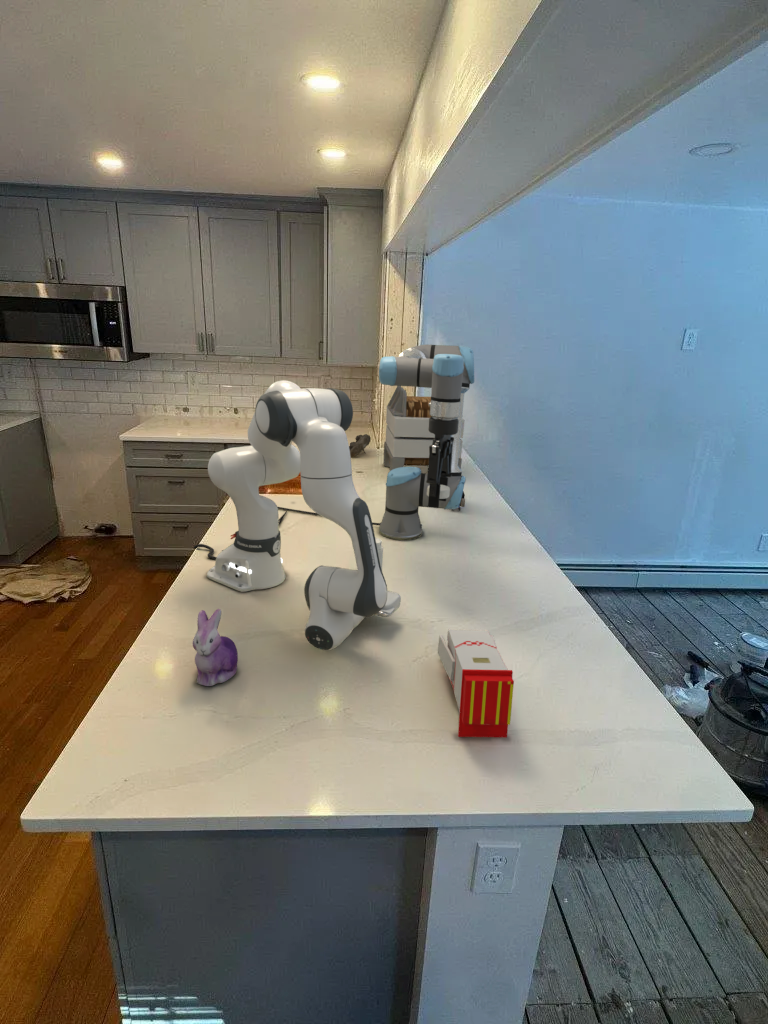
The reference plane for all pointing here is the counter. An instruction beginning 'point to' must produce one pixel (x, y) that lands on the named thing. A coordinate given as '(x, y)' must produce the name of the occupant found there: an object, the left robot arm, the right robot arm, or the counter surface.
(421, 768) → the counter surface
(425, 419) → the stacking storage bins
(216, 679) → the figurine
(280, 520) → the feather
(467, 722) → the toy
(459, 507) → the figurine character
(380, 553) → the bottle
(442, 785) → the counter surface
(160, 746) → the counter surface
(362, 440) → the fossil
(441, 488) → the lid
